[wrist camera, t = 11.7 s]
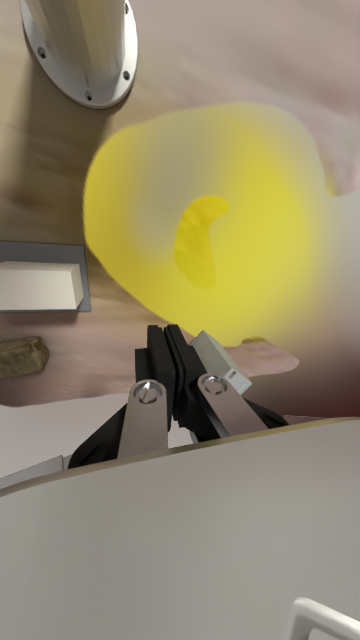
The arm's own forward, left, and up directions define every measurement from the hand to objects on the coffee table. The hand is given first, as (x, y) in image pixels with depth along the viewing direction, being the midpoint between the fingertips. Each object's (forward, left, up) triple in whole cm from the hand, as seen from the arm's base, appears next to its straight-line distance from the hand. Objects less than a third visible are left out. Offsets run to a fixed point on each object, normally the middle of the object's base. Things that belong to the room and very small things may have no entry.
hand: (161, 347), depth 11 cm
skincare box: (+20, +15, -29) cm, 39 cm away
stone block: (+19, -23, -30) cm, 42 cm away
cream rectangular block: (+4, -21, -26) cm, 34 cm away
